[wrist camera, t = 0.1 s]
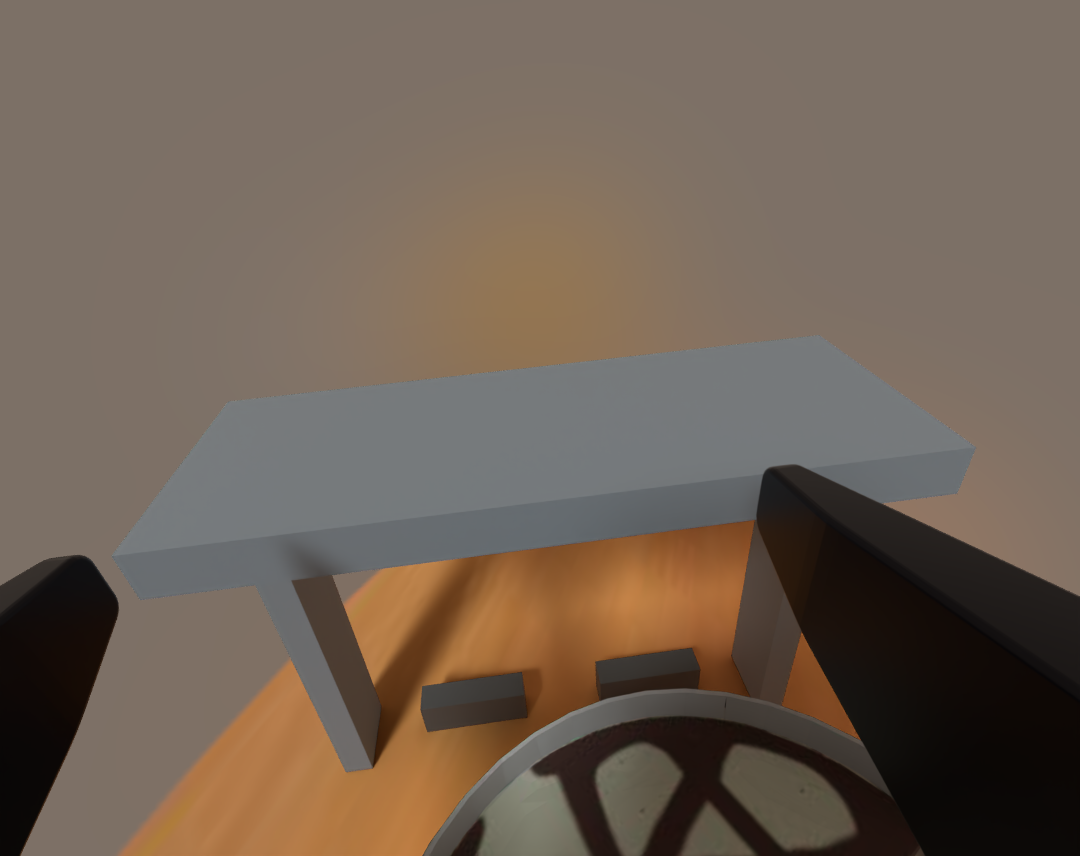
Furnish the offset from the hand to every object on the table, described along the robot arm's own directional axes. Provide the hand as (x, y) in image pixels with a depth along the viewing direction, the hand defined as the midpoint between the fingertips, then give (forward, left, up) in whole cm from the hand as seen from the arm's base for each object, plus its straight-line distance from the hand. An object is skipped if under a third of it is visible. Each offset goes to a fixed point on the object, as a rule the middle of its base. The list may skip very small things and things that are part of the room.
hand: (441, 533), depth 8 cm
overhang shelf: (+6, -2, -17) cm, 18 cm away
